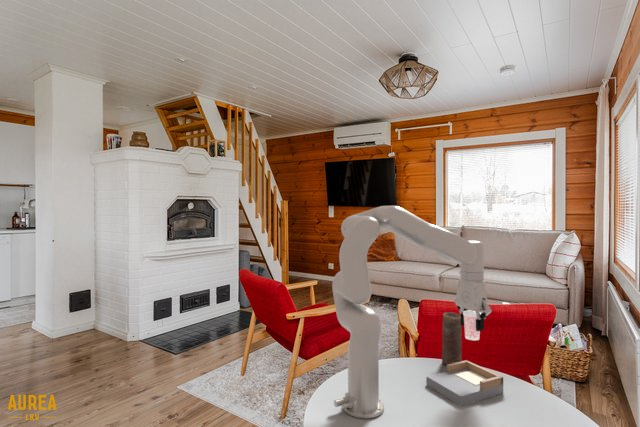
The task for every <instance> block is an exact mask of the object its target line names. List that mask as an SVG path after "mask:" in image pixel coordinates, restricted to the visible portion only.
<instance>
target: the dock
mask: <svg viewBox="0 0 640 427" xmlns="http://www.w3.org/2000/svg"><path fill="white" fill-rule="evenodd" d="M426 386H428V387H429V388H431V389H433V390H434V391H436V392H437V393H439V394H441V395H442V396H444V397H446V398H447V399H450V401H453V402H454V403H456V404H457V405H459V406H465V405H468V404H472V403H475V402H478V401H479V402H480V401H481V400H482V401H483V400H485V399H489V398H493V397H496V396H499V395H503V394H504V376H502V375H500V374H498V373H496V372H494V371H491V370H489V369H487V368H484V367H482V366H480V365H478V364H476V363H473V362H471V361H469V360H467V359H466V360H461V362H457V363H452V364H448V365H446V371H444V372H439V373H435V374H432V375H428V376H427V375H426Z"/></svg>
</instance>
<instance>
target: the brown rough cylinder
mask: <svg viewBox="0 0 640 427" xmlns="http://www.w3.org/2000/svg"><path fill="white" fill-rule="evenodd" d="M462 327H463V326H462V325H461V314H460V313H456V312H451V311H449V312H444V313H443V314H442V347H441V348H442V350H441V351H442V353H441V363H442V364H444V365H446V366H447V365H448V364H452V363H457V362H461V361H462V355H463V354H462V348H463V347H462V335H463V333H462V332H463V331H462Z"/></svg>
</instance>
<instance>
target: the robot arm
mask: <svg viewBox="0 0 640 427" xmlns="http://www.w3.org/2000/svg"><path fill="white" fill-rule="evenodd" d="M340 230H341V232H340V233H341V234H342V237H344V238H343V241H342V243H341V245H340V248H339V253H338V255H339V256H338V260H339V268H340V271H338V272H337V273H336V274H335V275H334V277H333V279H332V283H331V285H332V288H331V290H332V294H333V302H334V308H335V312H336V317H337V321H338V323H339V324H340V325H341V327H342V328H344V329H345V330H346V331H347V332H349V333H350V336H349V337H350V338H349V341H348V346H347V392H345V393H344V397H342V398H338V399H334V400H333V405H334V407H335V408H338V407H341V409H342V410H344V411H345V413H347V414H348V415H349V416H351V417H355V418H358V419H373V418H377V417H379V416H380V415H382V414H383V412H384V411H385V405H384V403H383V401H382V400H380V393H379V392H380V390H379V388H380V387H379V386H380V384H379V381H380V380H379V379H380V378H379V373H380V372H379V369H380V368H379V360H380V359H379V348H380V347H379V346H380V338H381V337H380V336H381V331H382V321H381V319H380V316H379V315H378V313H377V312H376V311H374V310H373V309H372V308H371V307H368V306H366V305H363V304H366V303H367V302H369V300H370V299H371V297H372V291H373V290H372V284H371V279H370V272H369V266H368V252H369V249H370V247H371V246H372V244H373V243H374V242H375V241H376V240H377V239H378V238H379V235H380V232H390V233H392V234H394V235H396V236H398V237H400V238H402V239H403V240H405V241H407V242H409V243H411V244H413V245H414V246H417V247H420V248H422V249H425V250H431V251H435V252H436V253H437V256H438V257H439V259H441V260H442V261H444V262H447V263H451V264H458V265H460V267H459V268H460V269H459V270H460V271H459V275H460V277H459V278H458V282H457V285H456V286H457V288H456V299H455V300H454V304H455V306H456V307H457V310H458V312H459V313H458V314H459V315H460V316H461V325H462V327H463V326H464V315H463V311H467V310H472V311H475V312H476V315H477V319H476V331H481V332H482V331H484V330H485V319H487V317H488V316H489V315H490V314H491V313H492V312H493V311H492V308H491V307H490V305H489V304H488V292H487V285H486V281H485V280H484V279H485V278H484V276H485V274H484V271H485V270H484V269H485V268H484V266H485V264H484V262H485V260H484V258H485V257H484V255H485V254H484V243H483V242H482V241H479V240H468V239H465V238H463V237H462V236H460V235H458V234H456V233H454V232H452V231H449V230H447V229H444V228H442V227H440V226H437V225H435V224H432V223H430V222H428V221H425V220H424V219H422V218H420V217H419V216H417V215H415V214H413V213H412V212H410V211H408V210H406V209H405V208H403V207H400V206H398V205H380V206H377V207H374V208H371V209H369V210H365V211H362V212H358V213H355V214H351V215H349V216H348V217H346V218H345V219H344V220H343V221H342V223H341V226H340ZM480 312H481V315H480Z"/></svg>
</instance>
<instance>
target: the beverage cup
mask: <svg viewBox="0 0 640 427" xmlns="http://www.w3.org/2000/svg"><path fill="white" fill-rule="evenodd" d="M463 315H464V337H465V339H466V340H469V341H479V340H480V338H481V337H480V334H481V332H480V331H476V319H477V315H476V312H475V311H472V310H467V311H463ZM480 315H481V312H480Z"/></svg>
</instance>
